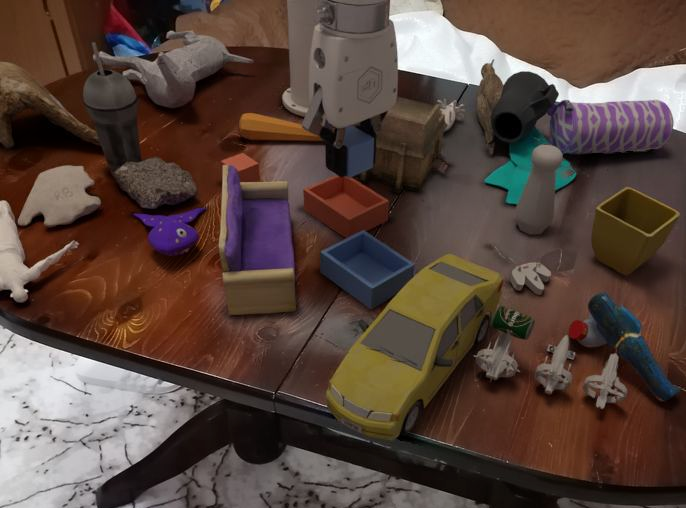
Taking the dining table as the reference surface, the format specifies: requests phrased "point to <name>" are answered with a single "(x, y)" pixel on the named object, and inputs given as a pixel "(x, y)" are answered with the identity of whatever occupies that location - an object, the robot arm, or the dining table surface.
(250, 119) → the carrot
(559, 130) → the pencil case
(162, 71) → the statue
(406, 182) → the wooden crate
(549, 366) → the toy vehicles
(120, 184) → the stone
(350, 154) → the blue block
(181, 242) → the toy
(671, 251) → the dining table surface
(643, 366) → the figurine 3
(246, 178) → the red block
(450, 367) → the toy car
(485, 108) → the bird model
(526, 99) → the mug
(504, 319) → the beer can
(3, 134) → the rock
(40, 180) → the decorative object
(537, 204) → the salt shaker
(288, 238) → the toy sofa
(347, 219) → the red bin
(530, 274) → the game controller
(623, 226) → the flower pot
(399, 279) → the blue bin
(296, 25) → the robot arm
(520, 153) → the cloth
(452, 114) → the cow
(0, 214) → the figurine
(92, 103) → the beverage cup
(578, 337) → the red capped bottle
